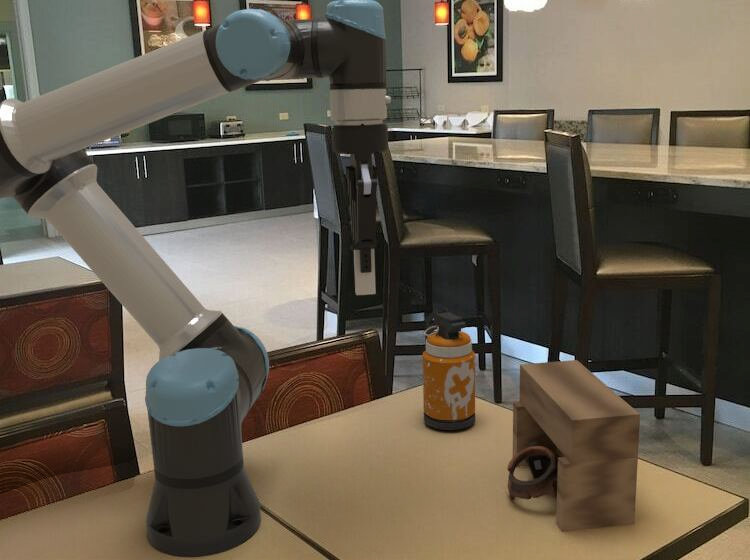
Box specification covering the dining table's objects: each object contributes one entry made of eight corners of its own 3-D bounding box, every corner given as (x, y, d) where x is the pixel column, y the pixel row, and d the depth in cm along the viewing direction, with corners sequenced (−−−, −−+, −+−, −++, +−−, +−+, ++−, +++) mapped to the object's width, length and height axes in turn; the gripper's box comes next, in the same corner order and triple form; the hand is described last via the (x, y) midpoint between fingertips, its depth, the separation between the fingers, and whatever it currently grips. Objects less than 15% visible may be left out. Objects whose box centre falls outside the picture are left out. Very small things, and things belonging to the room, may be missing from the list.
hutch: (561, 534, 103) (564, 420, 100) (512, 461, 124) (513, 364, 120) (634, 526, 105) (640, 414, 101) (573, 455, 125) (576, 359, 121)
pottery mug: (592, 511, 109) (571, 471, 105) (530, 539, 110) (506, 500, 107) (567, 456, 120) (546, 417, 116) (510, 481, 121) (488, 444, 117)
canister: (439, 437, 133) (437, 323, 128) (409, 414, 143) (407, 307, 138) (485, 426, 137) (485, 315, 132) (453, 404, 146) (452, 300, 142)
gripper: (395, 123, 100) (399, 303, 106) (380, 119, 113) (384, 280, 118) (335, 125, 99) (343, 307, 105) (327, 121, 112) (334, 284, 117)
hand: (365, 293), depth 111 cm, fingers closed
